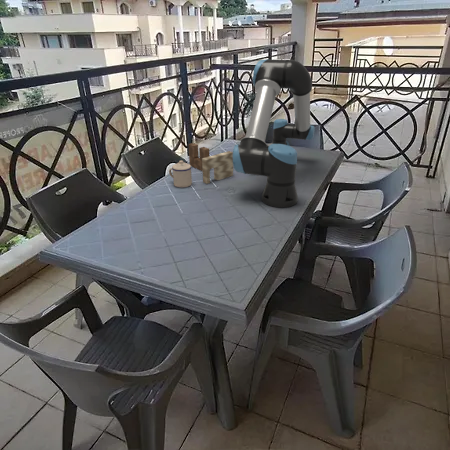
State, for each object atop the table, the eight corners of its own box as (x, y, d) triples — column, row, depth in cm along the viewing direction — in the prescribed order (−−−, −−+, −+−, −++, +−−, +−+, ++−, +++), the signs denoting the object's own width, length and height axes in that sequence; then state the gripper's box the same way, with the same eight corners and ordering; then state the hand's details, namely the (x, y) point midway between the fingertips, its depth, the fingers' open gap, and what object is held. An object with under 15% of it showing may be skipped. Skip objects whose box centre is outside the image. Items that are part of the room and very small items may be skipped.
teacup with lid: (196, 182, 168) (194, 159, 162) (185, 189, 161) (183, 165, 155) (175, 178, 173) (173, 155, 167) (164, 184, 166) (162, 161, 160)
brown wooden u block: (209, 171, 182) (209, 148, 176) (205, 172, 180) (204, 149, 175) (194, 164, 191) (192, 143, 186) (189, 165, 190) (188, 144, 184)
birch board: (229, 173, 178) (229, 151, 172) (233, 175, 176) (233, 152, 170) (203, 182, 168) (202, 158, 163) (206, 184, 166) (206, 159, 161)
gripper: (283, 163, 183) (255, 173, 171) (250, 153, 199) (222, 161, 187) (285, 149, 179) (256, 158, 167) (251, 140, 196) (222, 147, 183)
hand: (238, 160), depth 177 cm, fingers open, 13 cm apart
